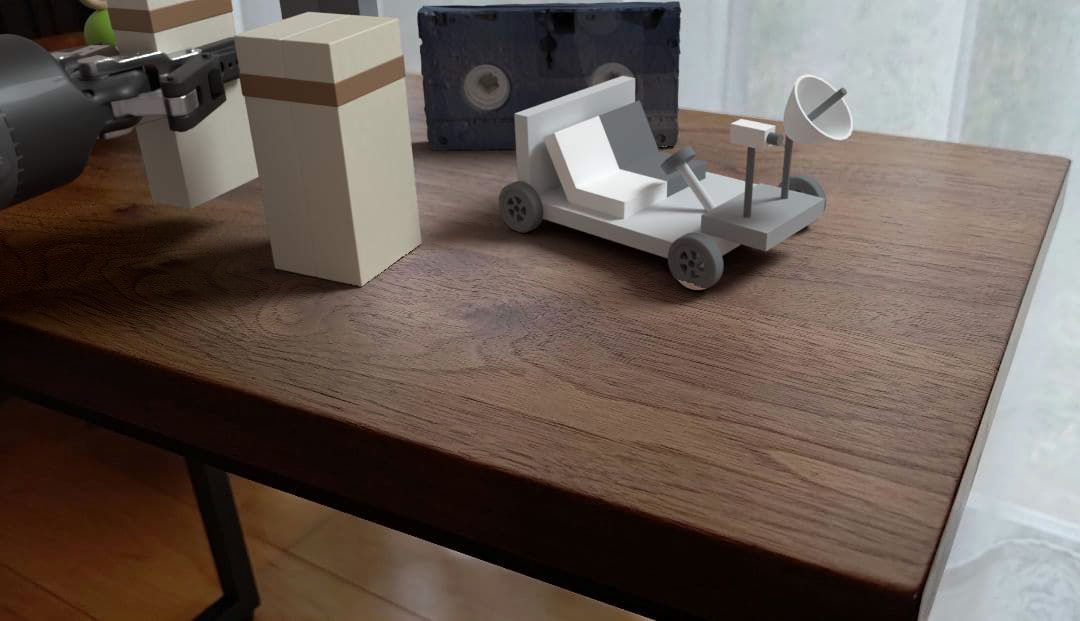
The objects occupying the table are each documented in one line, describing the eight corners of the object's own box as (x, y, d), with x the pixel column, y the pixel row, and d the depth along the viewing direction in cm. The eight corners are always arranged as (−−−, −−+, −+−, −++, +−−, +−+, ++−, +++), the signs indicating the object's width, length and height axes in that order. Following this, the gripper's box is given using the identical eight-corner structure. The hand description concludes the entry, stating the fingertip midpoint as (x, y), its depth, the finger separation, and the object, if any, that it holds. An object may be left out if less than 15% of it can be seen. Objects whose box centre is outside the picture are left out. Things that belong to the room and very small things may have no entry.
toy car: (888, 66, 52) (773, 121, 45) (866, 238, 57) (758, 314, 49) (618, 26, 63) (489, 64, 56) (618, 173, 68) (498, 226, 60)
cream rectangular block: (151, 202, 58) (97, -31, 52) (224, 169, 63) (182, -47, 57) (190, 210, 57) (140, -28, 51) (262, 175, 62) (224, -46, 56)
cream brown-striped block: (273, 269, 56) (231, 35, 50) (338, 229, 61) (307, 11, 55) (361, 287, 53) (329, 44, 47) (423, 244, 58) (400, 17, 52)
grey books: (299, 130, 79) (270, -57, 72) (318, 107, 84) (293, -68, 78) (373, 128, 78) (351, -59, 72) (388, 106, 84) (369, -70, 77)
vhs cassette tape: (677, 137, 74) (681, -1, 69) (678, 150, 71) (682, 7, 67) (434, 138, 76) (422, 3, 71) (426, 150, 73) (413, 12, 69)
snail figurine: (71, 67, 100) (39, -59, 95) (128, 53, 105) (100, -68, 99) (101, 74, 97) (70, -56, 92) (158, 59, 102) (132, -65, 96)
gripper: (36, 66, 40) (305, -8, 54) (-171, 43, 46) (119, -19, 60) (81, 236, 44) (324, 126, 57) (-116, 195, 50) (146, 103, 63)
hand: (218, 52), depth 59 cm, fingers closed on cream rectangular block, 3 cm apart
